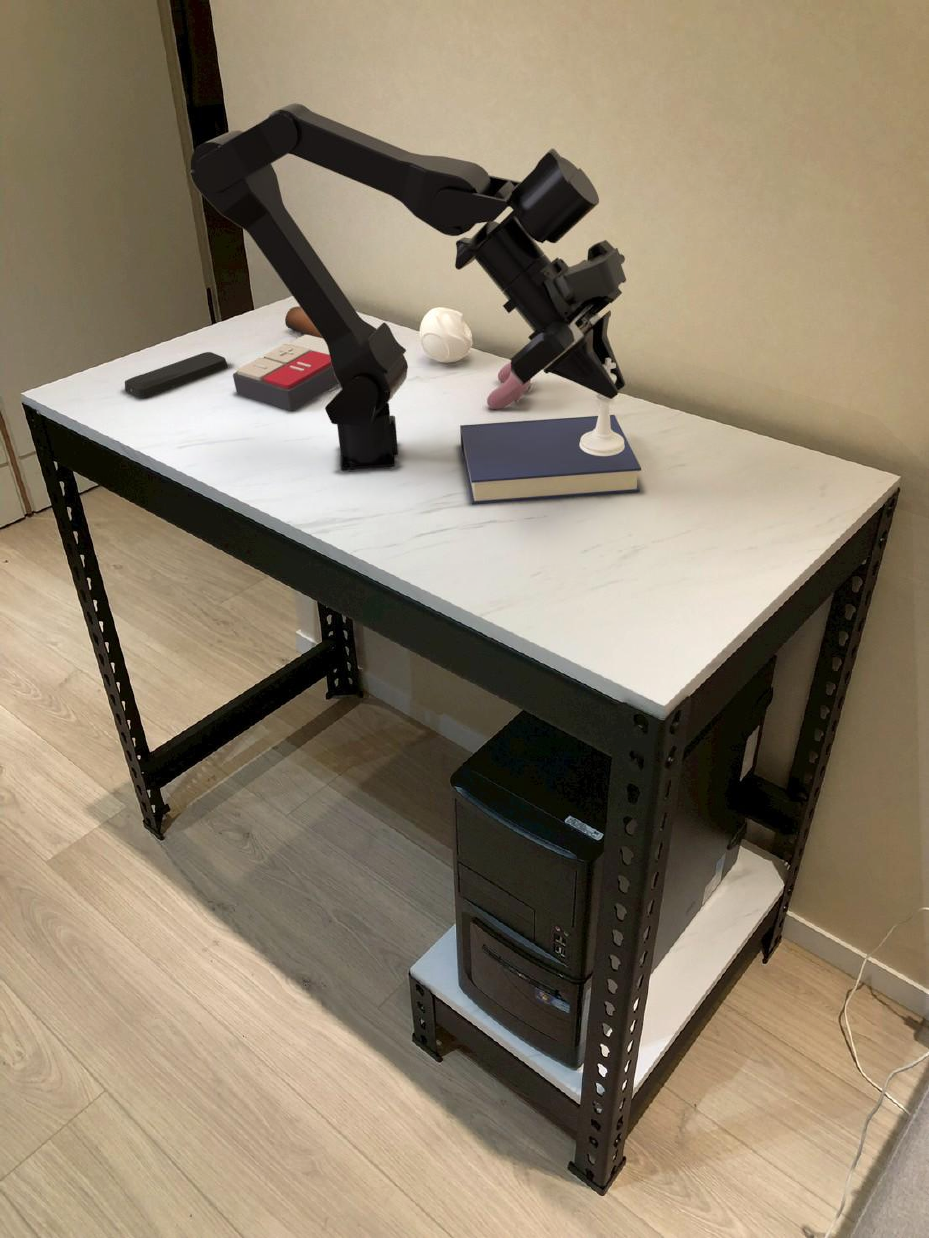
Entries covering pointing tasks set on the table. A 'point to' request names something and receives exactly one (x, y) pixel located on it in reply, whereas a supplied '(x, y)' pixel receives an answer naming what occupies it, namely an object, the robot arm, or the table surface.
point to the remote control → (175, 374)
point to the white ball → (445, 335)
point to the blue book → (542, 461)
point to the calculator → (288, 374)
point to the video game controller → (507, 389)
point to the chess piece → (603, 427)
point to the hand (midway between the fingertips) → (618, 392)
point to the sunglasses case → (300, 322)
